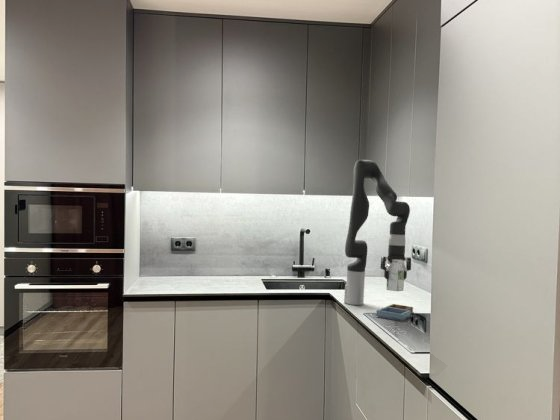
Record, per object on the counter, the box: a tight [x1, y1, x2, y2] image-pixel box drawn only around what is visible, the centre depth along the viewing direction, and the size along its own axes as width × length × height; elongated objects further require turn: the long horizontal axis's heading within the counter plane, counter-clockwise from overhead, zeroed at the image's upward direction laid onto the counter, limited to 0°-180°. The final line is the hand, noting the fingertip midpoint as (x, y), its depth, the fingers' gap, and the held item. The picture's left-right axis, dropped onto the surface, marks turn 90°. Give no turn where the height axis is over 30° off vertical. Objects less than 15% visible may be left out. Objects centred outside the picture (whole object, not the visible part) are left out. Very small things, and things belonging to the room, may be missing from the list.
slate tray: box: [375, 306, 412, 322], centre depth 214 cm, size 12×12×3 cm
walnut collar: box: [386, 303, 414, 314], centre depth 226 cm, size 10×10×2 cm
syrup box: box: [386, 259, 405, 292], centre depth 214 cm, size 6×6×14 cm
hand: (395, 279), depth 214 cm, fingers closed on syrup box, 8 cm apart
